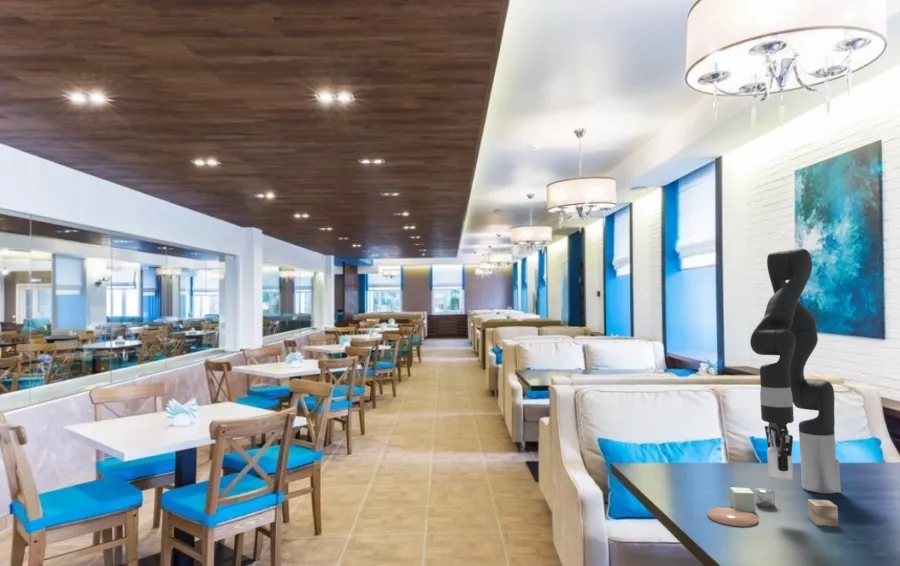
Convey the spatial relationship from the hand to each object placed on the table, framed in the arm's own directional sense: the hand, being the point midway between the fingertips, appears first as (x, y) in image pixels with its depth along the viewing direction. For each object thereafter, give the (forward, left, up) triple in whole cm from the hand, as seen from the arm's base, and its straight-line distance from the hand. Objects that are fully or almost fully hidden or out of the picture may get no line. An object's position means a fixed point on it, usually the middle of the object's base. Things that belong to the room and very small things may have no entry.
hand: (780, 468), depth 149 cm
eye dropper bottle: (0, 0, -3) cm, 3 cm away
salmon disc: (+13, +3, -13) cm, 19 cm away
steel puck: (+1, -10, -13) cm, 16 cm away
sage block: (+8, -6, -13) cm, 16 cm away
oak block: (-9, +2, -13) cm, 16 cm away
